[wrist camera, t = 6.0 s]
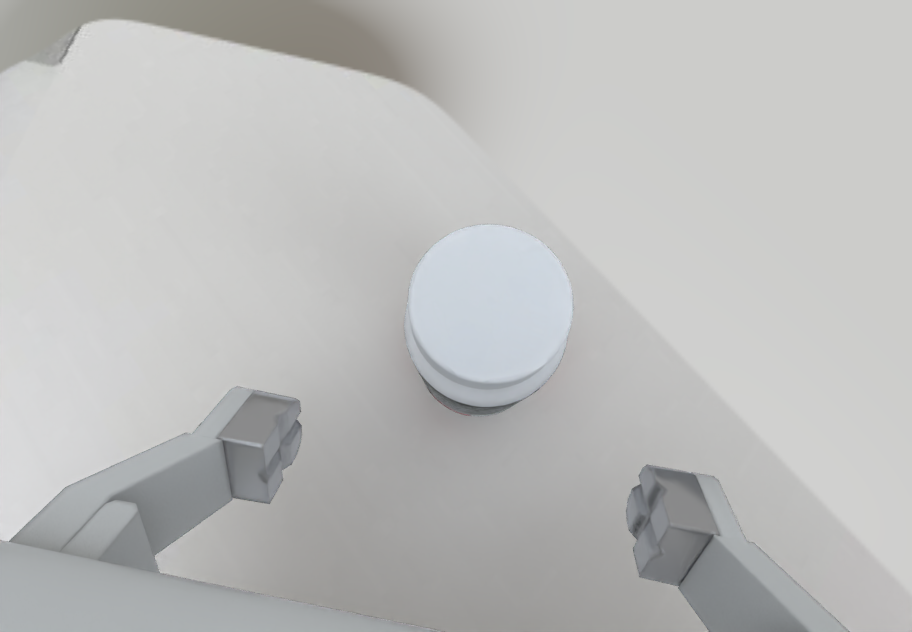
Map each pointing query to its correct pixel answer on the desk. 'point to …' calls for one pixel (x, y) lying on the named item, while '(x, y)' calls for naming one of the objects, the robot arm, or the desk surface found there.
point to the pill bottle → (487, 318)
